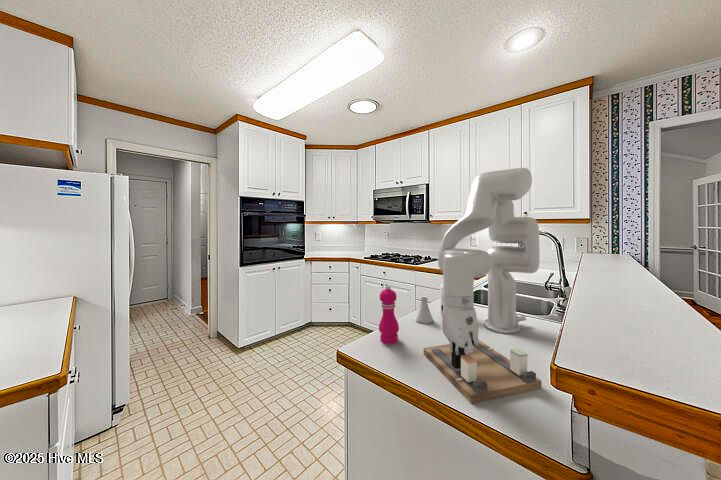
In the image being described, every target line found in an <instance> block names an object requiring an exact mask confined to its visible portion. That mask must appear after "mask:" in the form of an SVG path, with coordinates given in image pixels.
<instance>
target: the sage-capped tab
mask: <svg viewBox="0 0 721 480" xmlns="http://www.w3.org/2000/svg"><path fill="white" fill-rule="evenodd" d="M509 352H510V353H509V355H510V357H509V360H510V370H512V371H513V372H515V373H516V374H518V375H519V376H520V375H522V373H524V372H528V353H527V352H525V351H523V350H521V349H520V348H514V349H509Z"/></svg>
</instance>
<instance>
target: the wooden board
mask: <svg viewBox="0 0 721 480" xmlns="http://www.w3.org/2000/svg"><path fill="white" fill-rule="evenodd" d="M472 348H473V354H470V355H471V356H472V357H473V358H475V359H476V360H477V381H473V382H467V381H466V380H465V379H464V378H463V377H462V376H461V368H458V369H455V368H454V367H453V366H452V358H451V352H453V351H451V349H450V343H447V344H441V345H434V346H429V347H428V346H427V347H423V355H424V356H425V357H426V359H428V361H429V362H431V364H432V365H433V366H434V367H435V368H436V369H437V370H438V371H439V372H440V373H442V375H443V376H444V377H445V378H446V379H447V380H448V381H449V382H450V383H451V384H452V385H453V386H454V388H455V389H456V390H457V391H458V392H459V393H460V394H461V395H462V396H463V397H464V398H465V399H466V400H467V401H468V402H469V403H470V404H475V403H481V402H486V401H490V400H493V399H494V400H495V399H500V398H503V397H508V396H512V395H516V394H517V395H518V394H521V393H526V392H531V391H536V390H540V389H542V380H541V379H540V378H538V376H537V373H536V372H534V371H533V370H529V371H527V372H524V373H522V375H520V376H519V375H518V374H516V373H515V372H513V371H512V370H510V358H507V357H506V356H504V355H503V354H502V353H499V352H498V351H496V350H495V349H494V348H493V347H491V346H489V345H487V344H486V343H484V342H483V341H481V340H480V339H478V346H474V345H472ZM466 355H467V354H466Z"/></svg>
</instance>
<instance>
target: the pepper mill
mask: <svg viewBox="0 0 721 480" xmlns="http://www.w3.org/2000/svg"><path fill="white" fill-rule="evenodd" d="M384 288H385V289H382V290H381V291H380V293H379V300H380V302H381V304H380V305H381V306H380V307H381V308H382V315H381V319H380V320H379V324H378V331H379V332H380V335H379V336H380V341H381V343H383V344H388V345H389V344H395V343H397V342H398V340H399V335H398V332H399V330H400V326H399V323H398V320H397V319H396V318H397V317H396V316H395V308H396V301H397V294H396V292H395V290H393V289H391V286H390V285H389V284H386V286H385V287H384Z"/></svg>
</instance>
